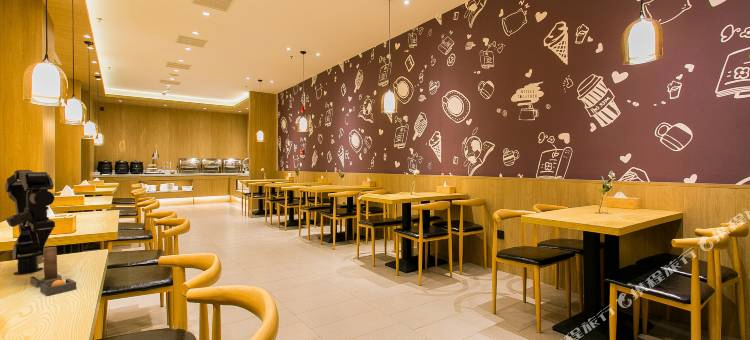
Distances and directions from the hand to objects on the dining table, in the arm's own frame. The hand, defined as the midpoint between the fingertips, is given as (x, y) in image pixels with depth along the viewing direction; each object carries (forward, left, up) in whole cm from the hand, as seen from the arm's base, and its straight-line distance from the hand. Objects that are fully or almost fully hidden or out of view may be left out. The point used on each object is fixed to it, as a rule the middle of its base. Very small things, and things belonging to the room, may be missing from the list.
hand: (38, 245), depth 142 cm
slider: (+10, +10, -13) cm, 20 cm away
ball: (+16, +16, -11) cm, 26 cm away
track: (+6, +6, -13) cm, 16 cm away
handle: (-26, -17, -13) cm, 34 cm away
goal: (+17, +17, -13) cm, 27 cm away
